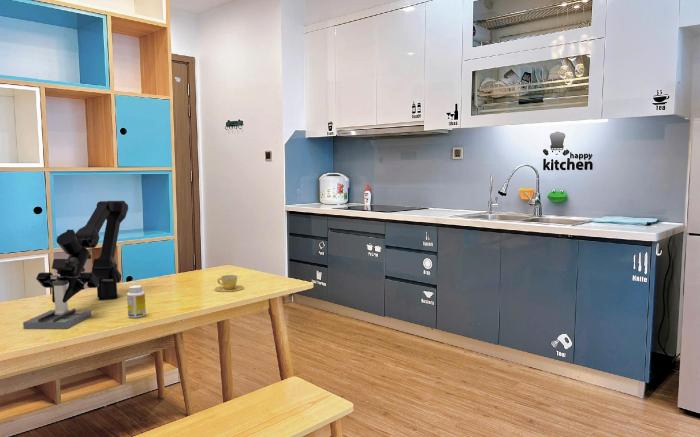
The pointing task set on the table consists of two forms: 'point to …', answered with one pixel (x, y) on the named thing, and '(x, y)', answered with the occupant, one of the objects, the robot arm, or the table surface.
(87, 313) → the box
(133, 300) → the supplement bottle
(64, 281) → the handle
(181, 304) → the table surface
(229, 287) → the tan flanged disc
